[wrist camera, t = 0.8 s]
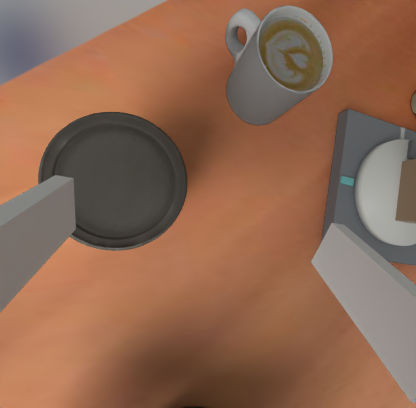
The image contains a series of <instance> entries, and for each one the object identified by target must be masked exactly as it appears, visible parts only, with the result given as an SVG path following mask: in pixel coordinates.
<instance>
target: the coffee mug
mask: <svg viewBox="0 0 416 408" xmlns="http://www.w3.org/2000/svg"><path fill="white" fill-rule="evenodd" d="M239 27H242V28H244V30H245V32H246V34H247V41H246V44H245V46H244V45H242V44H241V43H240V42H239V40H238V38H237V31H238V28H239ZM225 40H226V45H227V47H228V50H229V51H230V53H231V55H232V56H233V58H234V61H235V66H234V68H233V70H232V72H231V74H230V76H229V78H228V81H227V88H226V90H227V98H228V101H229V104H230V106H231V108H232V110H233V111H234V112H235V114H236V115H237V116H238V117H239V118H241V119H242V120H243V121H245V122H247V123H249V124H253V125H265V124H268V123H271V122H272V121H274V120H275V119H277V118H278V117H279V116H281V115H282V114H283V113H285V112H286V111H288V110H289V109H290V108H292V107H293V106H295V105H296V104H297V103H299V102H300V101H302V100H303V99H304V98H306V97H307V96H309V95H310V94H311V93H313V92H314V91H316V90H317V89H318V88H319V87H321V86H322V85H323V84H324V82H325V81H326V80H327V78H328V76H329V74H330V71H331V68H332V61H333V53H332V46H331V42H330V39H329V37H328V35H327V32H326V30H325V29H324V27H323V26H322V25H321V23H320V22H319V21H318V20H317V19H316V18H315V17H314V16H313V15H312V14H310V13H309V12H307V11H306V10H304V9H301V8H298V7H295V6H281V7H278V8H275V9H273V10H272V11H270V12H269V13H268V14H267V15H266V16H265V17H264V18H263V20H262V21H261V20H260V19H259V18H258V17H257V16H256V15H255V13H253V12H252V11H251V10H249V9H241V10H239V11H238V12H236V13H235V14H234V15H233V16H232V18H231V19H230V21H229V23H228V25H227V29H226V35H225Z"/></svg>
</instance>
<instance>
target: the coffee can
mask: <svg viewBox="0 0 416 408" xmlns="http://www.w3.org/2000/svg"><path fill="white" fill-rule="evenodd" d="M55 175H58V176H64V177H69V178H74V198H75V219H76V229H75V231H74V232H73V233H72V234H71V235H70V236H69V237H71V238H73V239H74V240H76V241H78V242H80V243H82V244H84V245H87V246H90V247H93V248H97V249H102V250H112V251H116V250H128V249H133V248H137V247H140V246H143V245H145V244H147V243H149V242H151V241H153V240H155V239H156V238H158V237H159V236H161V235H162V234H163V233H164V232H165V231H166V230H167V229H168V228H169V227H170V226H171V225H172V224H173V223H174V221H175V220H176V218H177V217H178V215H179V213H180V211H181V209H182V207H183V204H184V201H185V198H186V193H187V173H186V168H185V164H184V161H183V158H182V156H181V154H180V152H179V150H178V148H177V146H176V145H175V143H174V142H173V141H172V140H171V138H170V137H169V136H168V135H167V134H166V133H165V132H163V131H162V130H161V129H160V128H158V127H157V126H156V125H154V124H153V123H151V122H149V121H147V120H145V119H143V118H141V117H138V116H135V115H132V114H128V113H120V112H101V113H94V114H91V115H87V116H84V117H82V118H79V119H77V120H75V121H73V122H71V123H70V124H68V125H67V126H66V127H64V128H63V129H62V130H61V131H59V132H58V133H57V134H56V135H55V137H54V138H53V139H52V140H51V142H50V143H49V144H48V146H47V148H46V150H45V152H44V154H43V156H42V159H41V163H40V167H39V174H38V184H40V183H42V182H44V181H46V180H48V179H49V178H51V177H53V176H55Z"/></svg>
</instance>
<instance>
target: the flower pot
mask: <svg viewBox="0 0 416 408" xmlns="http://www.w3.org/2000/svg"><path fill="white" fill-rule="evenodd" d="M411 108H412V112H414V113H415V114H416V93H415V94H414V95H413V96H412V99H411Z"/></svg>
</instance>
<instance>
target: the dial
mask: <svg viewBox="0 0 416 408" xmlns="http://www.w3.org/2000/svg"><path fill="white" fill-rule="evenodd" d="M354 192H355V203H356V208H357V212H358V214H359V217H360V219H361V221H362V223H363V225H364V226H365V228H366V229H367V230H368V231H369V233H370V234H371V235H373V236H374V237H375V238H376V239H378V240H379V241H382V242H384V243H387V244H392V245H398V246H410V245H414V244H416V141H414V140H411V141H410V140H406V139H398V140H393V141H389V142H386V143H382V144H380V145H378V146H376V147H375V148H373V149H372V150H371V151H370V152H369V153H368V154H367V155H366V156H365V158H364V159H363V161H362V162H361V164H360V167H359V169H358V172H357V175H356V180H355V189H354Z"/></svg>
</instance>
